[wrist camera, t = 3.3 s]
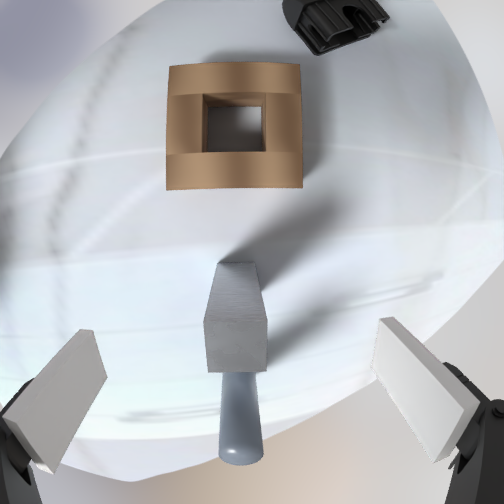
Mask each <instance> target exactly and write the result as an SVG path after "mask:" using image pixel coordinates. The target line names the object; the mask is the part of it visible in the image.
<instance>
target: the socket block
mask: <svg viewBox="0 0 504 504" xmlns="http://www.w3.org/2000/svg"><path fill="white" fill-rule="evenodd" d="M208 107H261V129H262V152H208ZM215 188H303V146H302V105H301V80H300V64H289V63H271V62H215V63H198V64H186V65H176V66H169V80H168V98H167V124H166V190H187V189H215Z"/></svg>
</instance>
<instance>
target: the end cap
mask: <svg viewBox="0 0 504 504" xmlns="http://www.w3.org/2000/svg"><path fill="white" fill-rule="evenodd" d="M282 8H283V12H284V15H285V18H286V20H287V22H288V24H289V25H290V27H291V28H292V29H293V31H295V32H296V33H297V34H298V36H299V37H300V38H301V39H302V40H303V42H304V43H305V44H306V45H307V47H308V48H309V49H310V50H311V52H312V53H313V54H314V55H316V56H320V55H322V54H325V53H327V52H330V51H332V50H335V49H337V48H340V47H342V46H345V45H348V44H351V43H353V42H356V41H359V40H362V39H365V38H368V37H369V36H370V35H371V34H372V33H374V32H376V31H377V30H378V29H379V28H380V26H379V24H378V23H377V22H376V21H380V20H381V21H382V23H385V22H386V21H387V20H388V19H390V17H389V15H388V14H387V13H386V12H385V11H384V9H383V8H382V7H381V6H380V5H379V4H378V2H377V1H376V0H283V3H282Z"/></svg>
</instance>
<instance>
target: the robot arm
mask: <svg viewBox="0 0 504 504" xmlns="http://www.w3.org/2000/svg"><path fill="white" fill-rule="evenodd" d="M371 369H372V370H373V372H374V373H375V375H376V376H377V378H378V379H379V381H380V382H381V384H382V385H383V387H384V388H385V390H386V391H387V392H388V394H389V396H390V397H391V399H392V400H393V401H394V403H395V405H396V406H397V408H398V409H399V411H400V412H401V414H402V415H403V417H404V418H405V420H406V421H407V423H408V425H409V426H410V428H411V429H412V431H413V433H414V434H415V436H416V437H417V439H418V440H419V442H420V444H421V445H422V447H423V448H424V450H425V452H426V453H427V455H428V456H429V458H430V460H431V461H432V463H435V462H438V461H440V460H442V459H444V458H446V457H448V456H449V455H450V454H451V452H452V451H453V449H454V448H455V446H457V448H458V449H459V453H458V454H457V456H456V457H455V459H454V460H453V461H452V463H451V464H450V466H449V468H448V469H451V468H452V467H453V465H454V464H455V466H454V471H453V475H452V479H451V483H450V487H449V490H448V494H447V497H446V501H445V504H504V400H501V399H496V400H492V401H490V400H489V399H488V398H487V397H486V396H485V395H484V394H483V393H482V392H481V391H480V390H479V389H478V388H477V387H476V386H475V385H474V384H473V383H472V382H471V381H469V379H468V378H467V377H466V376H464V375H463V373H462V372H461V371H460V370H459V369H458V368H457V367H455V366H453V365H451V364H449V363H447V362H445V363H441V362H440V361H439V360H438V359H437V358H436V357H435V356H434V355H433V354H432V353H431V352H430V351H429V350H428V349H427V348H426V347H425V346H424V345H423V344H422V343H421V342H420V341H419V340H418V339H417V338H415V337H414V336H413V335H412V334H411V333H410V332H409V331H408V330H407V329H406V328H405V327H404V326H403V325H402V324H401V323H400V322H398V321H397V320H396V319H395V318H394V317H388V318H381V319H379V324H378V330H377V336H376V342H375V347H374V353H373V358H372V363H371ZM107 378H108V377H107V374H106V371H105V369H104V365H103V362H102V359H101V356H100V353H99V350H98V346H97V343H96V339H95V336H94V332H93V330H83V329H80V330H79V331H78V332H77V333H76V334H75V335H74V336H73V337H72V338H71V339H70V340H69V341H68V342H67V343H66V344H65V345H64V346H63V348H62V349H61V350H60V351H59V352H58V353H57V354H56V355H55V356H54V357H53V358H52V359H51V360H50V362H49V363H48V364H47V365H46V366H45V367H44V368H43V369H42V370H41V372H40V373H39V374H38V375H37V376H36V377H35V378H33V379H31V380H29V381H28V382H26V383H25V384H24V385H23V386H22V387H21V388H20V389H19V391H18V392H17V393H16V394H15V395H14V396H13V398H12V399H11V400H10V401H9V402H8V403H7V405H6V406H5V407H4V408H3V409H2V411H1V412H0V504H42V501H41V498H40V495H39V492H38V489H37V485H36V482H35V478H34V474H33V470H32V468H31V466H30V465H29V462H30V460H31V459H32V460H33V461H34V463H35V464H36V465H37V466H38V468H39V469H42V470H44V471H46V472H49V473H51V474H54V473H55V471H56V469H57V467H58V465H59V463H60V461H61V459H62V458H63V456H64V454H65V452H66V450H67V448H68V446H69V444H70V442H71V441H72V439H73V437H74V435H75V433H76V431H77V430H78V428H79V426H80V424H81V422H82V421H83V419H84V417H85V415H86V413H87V412H88V410H89V408H90V406H91V405H92V403H93V401H94V400H95V398H96V396H97V394H98V393H99V391H100V389H101V388H102V386H103V384H104V383H105V381H106V379H107Z"/></svg>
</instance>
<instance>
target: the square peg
mask: <svg viewBox="0 0 504 504" xmlns="http://www.w3.org/2000/svg"><path fill="white" fill-rule="evenodd" d="M203 323H204V335H205V346H206V356H207V366H208V372H263V371H266V367H267V316H266V312H265V307H264V303H263V298H262V294H261V289H260V285H259V280H258V276H257V271H256V267H255V262H244V263H217V267H216V271H215V275H214V279H213V283H212V287H211V292H210V296H209V300H208V304H207V309H206V313H205V317H204V321H203Z"/></svg>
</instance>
